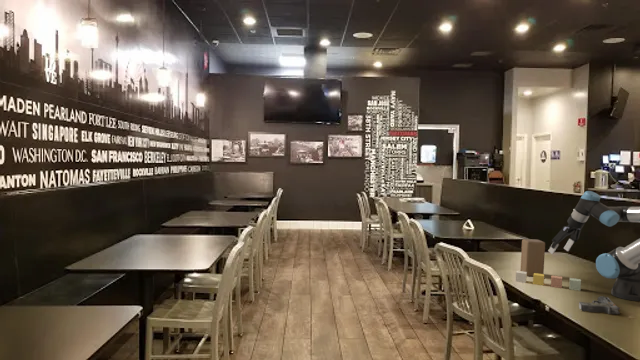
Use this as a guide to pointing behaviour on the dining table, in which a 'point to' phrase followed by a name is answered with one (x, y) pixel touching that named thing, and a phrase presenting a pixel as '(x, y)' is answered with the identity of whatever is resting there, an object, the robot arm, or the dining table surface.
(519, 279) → the cream cube
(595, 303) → the handgun
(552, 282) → the terracotta cube
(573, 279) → the sage cube
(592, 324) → the dining table surface
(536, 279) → the mustard cube
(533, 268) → the wooden block
